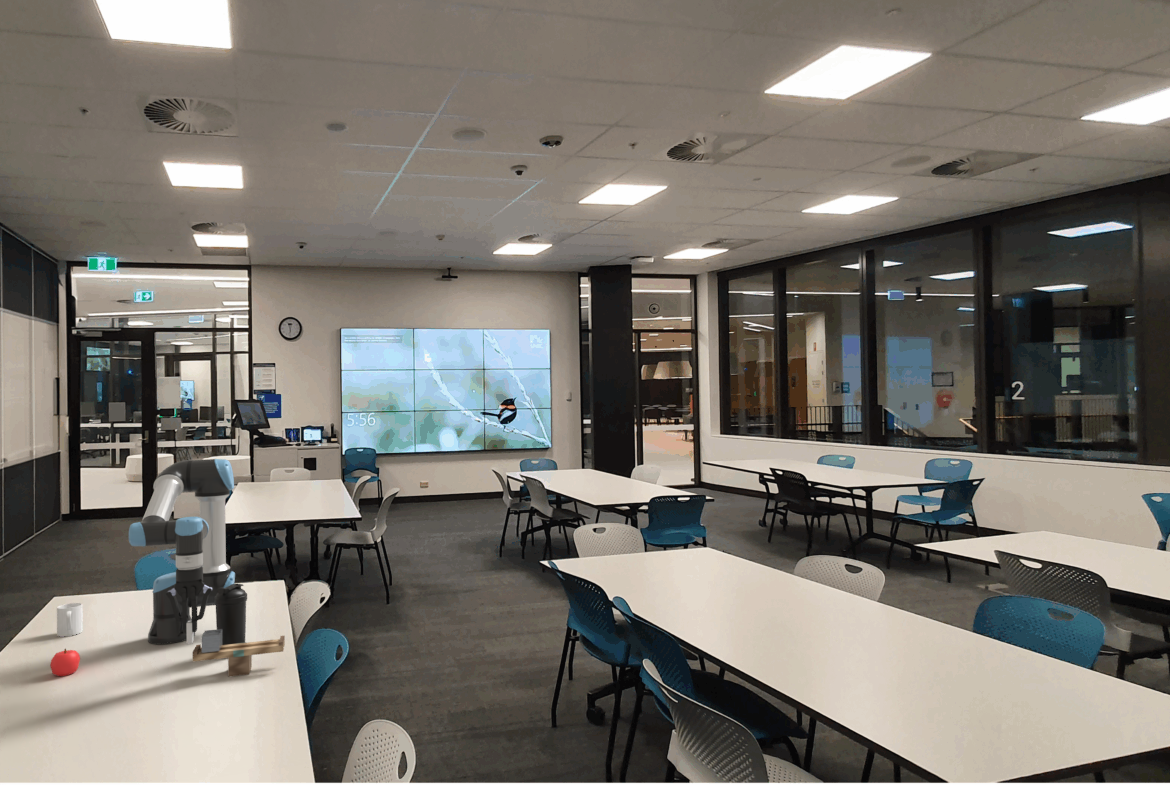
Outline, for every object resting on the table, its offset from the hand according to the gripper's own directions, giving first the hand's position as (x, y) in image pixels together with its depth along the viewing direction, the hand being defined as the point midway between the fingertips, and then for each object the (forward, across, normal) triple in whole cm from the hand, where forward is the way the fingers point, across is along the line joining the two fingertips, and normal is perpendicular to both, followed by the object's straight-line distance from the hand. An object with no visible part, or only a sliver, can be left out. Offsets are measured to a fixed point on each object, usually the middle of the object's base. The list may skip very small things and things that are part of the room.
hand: (190, 642), depth 232 cm
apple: (+11, -39, +18) cm, 44 cm away
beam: (+11, +14, 0) cm, 18 cm away
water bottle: (+11, +9, +20) cm, 25 cm away
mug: (+11, -51, +63) cm, 82 cm away
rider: (+5, +6, 0) cm, 8 cm away
